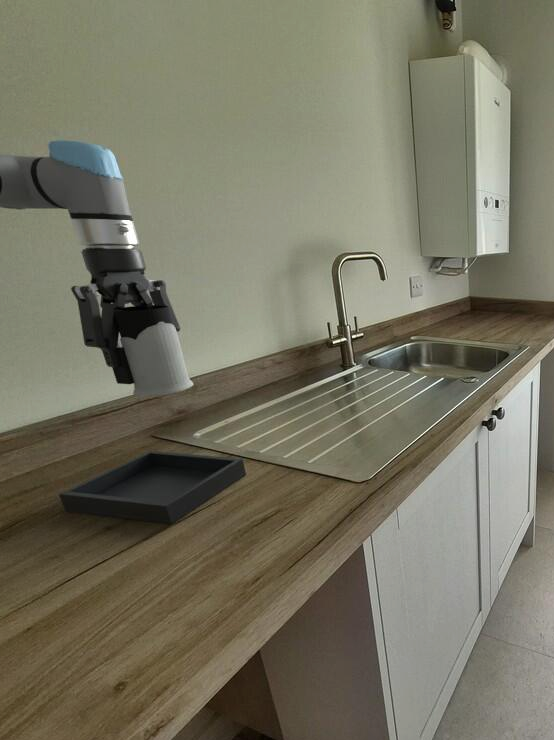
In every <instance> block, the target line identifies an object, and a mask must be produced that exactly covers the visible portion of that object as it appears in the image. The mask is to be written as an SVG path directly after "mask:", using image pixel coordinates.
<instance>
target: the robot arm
mask: <svg viewBox="0 0 554 740" xmlns="http://www.w3.org/2000/svg"><path fill="white" fill-rule="evenodd" d="M47 146H48V151H49V153H48V156H23V155H12V154H7V153H1V152H0V208H1V209H2V208H3V209H8V210H9V209H10V210H26V209H27V210H28V209H35V210H36V209H39V210H40V209H42V210H43V209H44V210H45V209H47V210H49V209H50V210H51V209H53V210H54V209H55V210H56V209H57V210H59V209H60V210H61V209H62V210H67V211H68V214H69V217H70V220H71V224H72V227H73V231H74V234H75V238H76V240H77V244H79V245H80V246H83V247H84V248H83V249H81V251H80V253H81V255H82V259H83V262H84V266H85V268H86V270H87V271H88V273H89V274H90V277H91V278H90V281H89V283H87V284H84V285H72V286H71V288H70V290H71V292H72V295H74V297H75V299H76V301H77V307H78V313H79V318H80V325H81V330H82V338H83V343H84V346H86V348H87V347H88V348H97V349H100V350H101V352H102V355H103V358H104V361H105V364H106V365H107V367H109V368H112V372H113V375H114V378H115V381H116V384H120V385H132V384H133V385H134V380H133V377H132V373H131V370H130V367H129V363H128V360H127V357H126V354H125V350H124V347H118V339H119V337H120V333H119V327H118V324H117V321H116V317H115V314H114V311H122V310H123V309H124V307H126V305H127V304H131V305H132V306H140V307H141V308H142V309H143V310H152V309H153V305H166V306H169V309H170V313H171V317H172V321H173V325H174V327H175V328H176V331H177V333H178V332H180V331H181V326H180V323H179V322H178V319H177V316H176V313H175V312H174V308H173V305H172V303H171V300H170V298H169V296H168V294H167V284H166V281H164V280H162V279H161V280H160V279H158V280H157V279H149V278H148V276H147V275H146V273H145V271H146V269H147V266H146V263H145V259H144V255H143V251H142V250H140V249H139V248H136V246H139V245H140V240H139V237H138V234H137V229H136V226H135V222H134V220H133V217H132V214H131V209H130V206H129V202H128V196H127V193H126V189H125V183H124V177H123V175H122V174H121V171H120V168H119V165H118V162H117V159H116V156H115V154H114V153H113V152H112V150H110V149H108V148H106V147H105V146H102V145H98V144H96V143H89V142H83V141H77V140H64V139H61V140H60V139H59V140H51V141H49V142H48V145H47ZM147 291H148V292H149V294H148V292H147ZM99 295H100V296H101V297H100V303H99V300H98V298H97V297H98V296H99ZM100 308H101V310H100Z"/></svg>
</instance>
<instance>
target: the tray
mask: <svg viewBox="0 0 554 740" xmlns="http://www.w3.org/2000/svg"><path fill="white" fill-rule="evenodd" d="M246 475H247V471H246V468H245V464H244V460H243V458H237V457H224V456H215V455H204V454H191V453H182V452H169V451H158V450H149V451H147V452H145V453H142V454H141V455H139V456H137V457H134V458H132V459H130V460H128V461H126V462H123V463H122V464H120V465H117V466H115V467H113V468H110V469H109V470H107V471H104V472H102V473H100V474H98V475H96V476H93V477H92V478H90V479H87V480H85V481H83V482H81V483H79V484H76V485H74V486H73V487H70V488H68V489H66V490H64V491H62V492H60V493H58V496H59V498H60V501H61V503H62V506H63V509H64V510H65V513H74V514H81V515H89V516H99V517H107V518H115V519H123V520H132V521H139V522H146V523H156V524H163V525H173V524H175V523H176V522H178V521H179V520H181V519H182V518H184V517H185V516H187V515H188V514H190V513H192V512H193V511H194V510H196V509H197V508H199V507H201V506H202V505H203V504H205V503H206V502H208V501H209V500H211V499H212V498H214V497H215V496H217V495H219V494H220V493H221V492H223V491H224V490H226V489H227V488H229V487H230V486H231V485H233V484H235V483H236V482H237V481H239V480H240V479H242V478H244V477H245V476H246Z"/></svg>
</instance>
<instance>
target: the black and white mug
mask: <svg viewBox="0 0 554 740" xmlns="http://www.w3.org/2000/svg"><path fill="white" fill-rule="evenodd" d="M114 314H115V317H116V321H117V324H118V327H119V337H120V338H118V346H117V347H124V350H125V354H126V357H127V360H128V363H129V367H130V370H131V373H132V377H133V380H134V383H133V388H134V389H133V392H132V394H133V395H134V396H136V397H142V398H143V397H158V396H165V395H171V394H175V393H179V392H182V391H185V390H188V389H189V388H191V387H193V386H194V382H193V381H192V380H191V379H190V377H189V374H188V370H187V366H186V362H185V357H184V354H183V351H182V347H181V343H180V339H179V336H178V335H179V334H178V332H177V331H176V328H175V327H174V325H173V321H172V317H171V313H170V309H169V306H166V305H154V304H153V309H152V310H143V309H142V308H141V307H140V306H134V305H132V306H125V307H124V309H123V310H122V311H114Z"/></svg>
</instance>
